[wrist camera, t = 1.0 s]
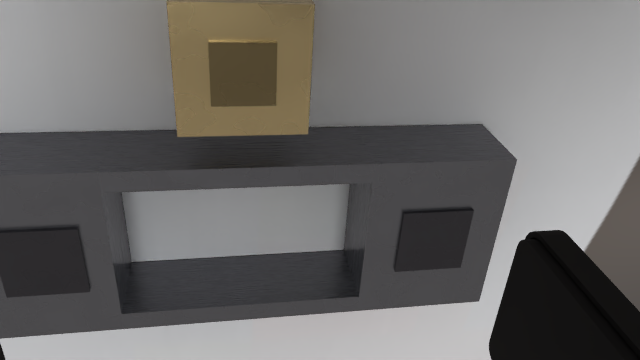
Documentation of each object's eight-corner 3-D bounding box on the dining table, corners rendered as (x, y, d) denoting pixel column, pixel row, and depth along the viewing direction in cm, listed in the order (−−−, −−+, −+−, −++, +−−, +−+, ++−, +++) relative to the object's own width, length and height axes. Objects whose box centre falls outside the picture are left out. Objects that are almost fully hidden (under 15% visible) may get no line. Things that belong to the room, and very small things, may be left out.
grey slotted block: (482, 124, 30) (518, 161, 26) (452, 256, 34) (480, 303, 31) (-25, 133, 26) (-62, 180, 22) (18, 283, 30) (-8, 342, 27)
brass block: (293, -29, 24) (315, 5, 19) (289, 80, 27) (308, 136, 22) (176, -32, 24) (166, 2, 18) (184, 80, 26) (176, 139, 21)
